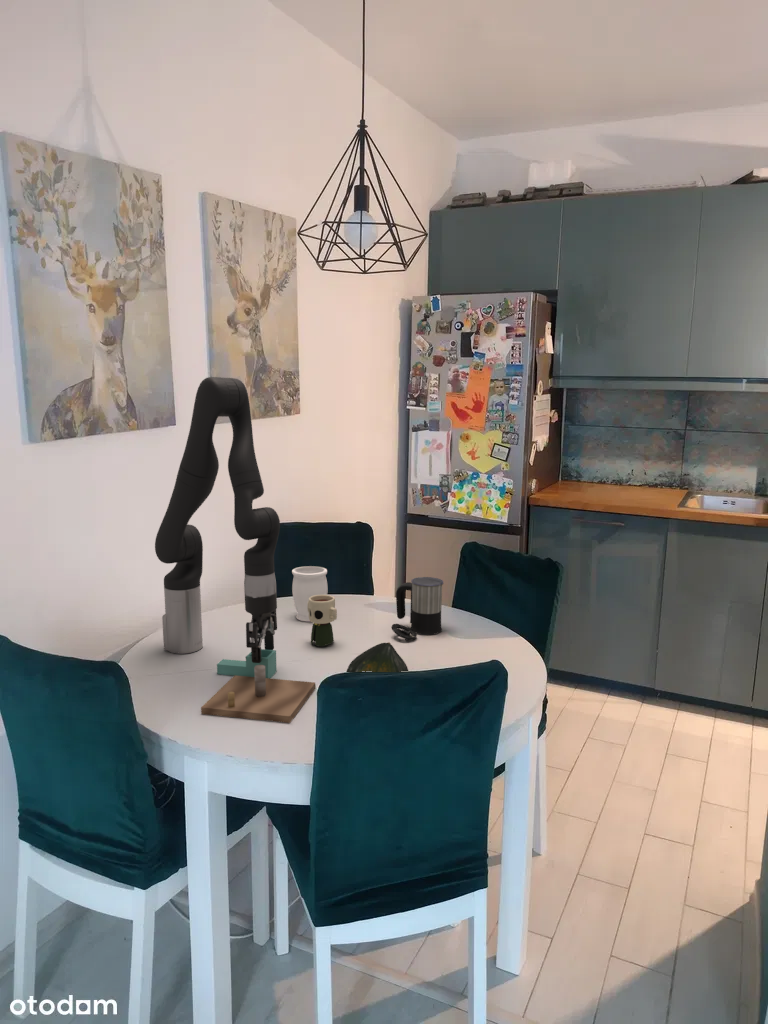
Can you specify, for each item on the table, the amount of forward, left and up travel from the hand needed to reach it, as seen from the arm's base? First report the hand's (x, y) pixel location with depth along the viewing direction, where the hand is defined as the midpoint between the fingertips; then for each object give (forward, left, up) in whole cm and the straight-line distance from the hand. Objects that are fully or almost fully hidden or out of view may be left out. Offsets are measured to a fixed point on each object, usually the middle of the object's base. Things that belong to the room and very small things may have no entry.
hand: (263, 656), depth 177 cm
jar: (-2, +45, -5) cm, 45 cm away
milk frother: (+32, +38, -5) cm, 50 cm away
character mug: (+8, +24, -5) cm, 26 cm away
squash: (+31, -11, -5) cm, 33 cm away
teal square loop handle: (-5, 0, -5) cm, 7 cm away
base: (+5, -14, -5) cm, 16 cm away
